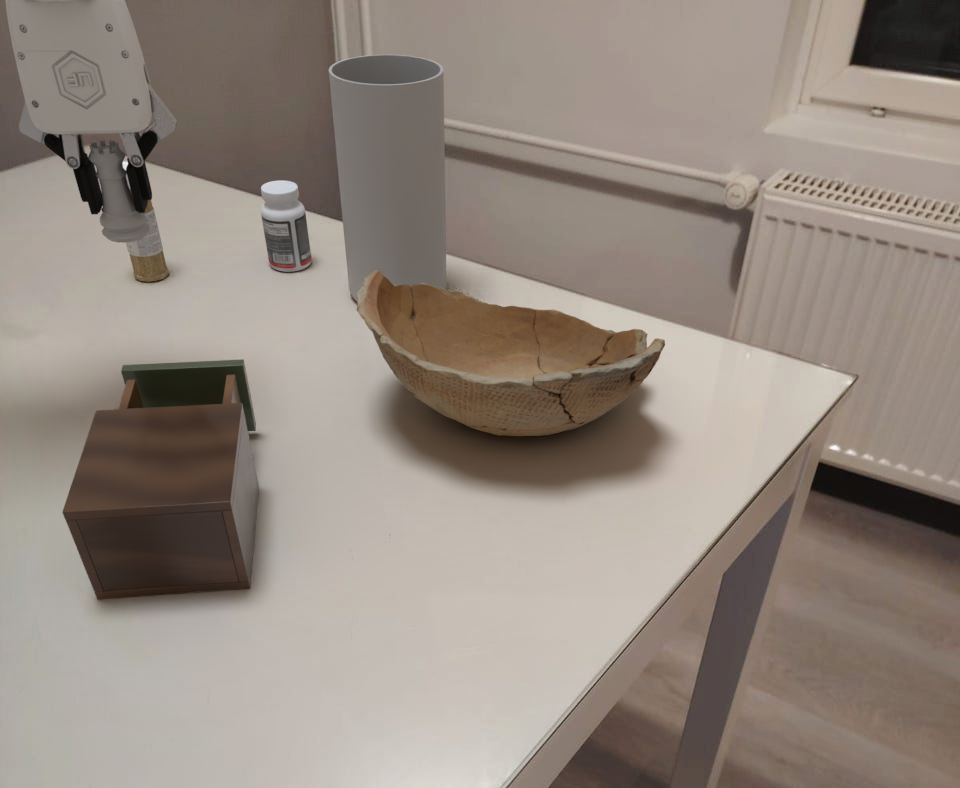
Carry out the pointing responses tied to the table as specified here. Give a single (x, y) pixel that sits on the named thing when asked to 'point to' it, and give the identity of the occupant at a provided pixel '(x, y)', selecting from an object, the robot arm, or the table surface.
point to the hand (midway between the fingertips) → (119, 206)
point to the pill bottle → (285, 226)
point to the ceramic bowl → (502, 358)
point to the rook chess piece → (116, 195)
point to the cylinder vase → (391, 167)
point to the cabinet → (165, 501)
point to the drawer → (188, 385)
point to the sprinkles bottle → (148, 249)
